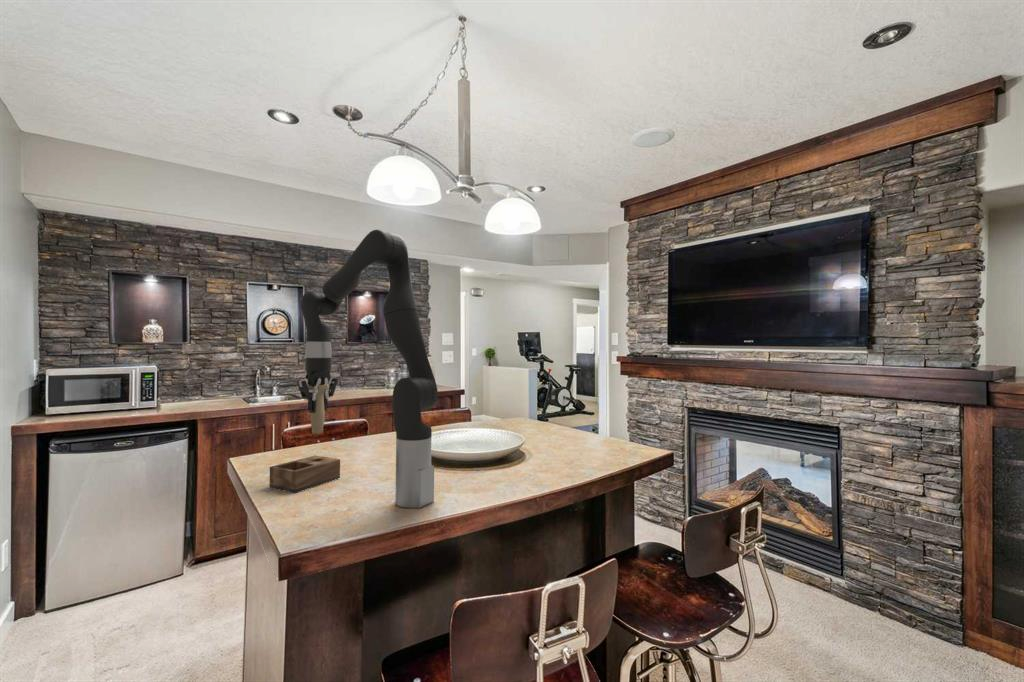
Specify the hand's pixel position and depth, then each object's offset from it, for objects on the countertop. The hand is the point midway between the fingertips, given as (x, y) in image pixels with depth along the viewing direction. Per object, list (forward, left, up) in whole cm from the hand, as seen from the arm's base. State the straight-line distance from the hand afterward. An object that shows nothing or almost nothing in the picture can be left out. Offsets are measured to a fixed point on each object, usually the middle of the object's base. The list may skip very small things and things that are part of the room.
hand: (317, 411), depth 140 cm
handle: (0, 0, -7) cm, 7 cm away
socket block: (0, +4, -21) cm, 21 cm away
